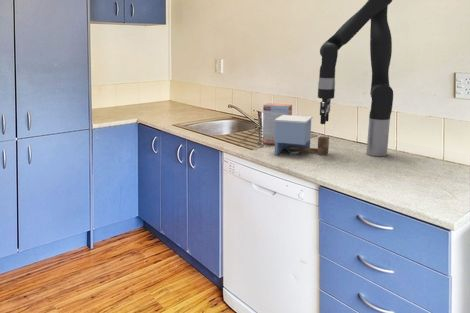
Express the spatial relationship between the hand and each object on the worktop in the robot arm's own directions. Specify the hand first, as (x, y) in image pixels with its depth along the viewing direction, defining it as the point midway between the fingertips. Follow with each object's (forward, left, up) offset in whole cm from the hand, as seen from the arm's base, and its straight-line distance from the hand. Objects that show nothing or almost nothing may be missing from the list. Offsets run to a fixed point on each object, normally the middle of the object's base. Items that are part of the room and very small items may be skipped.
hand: (324, 122), depth 202 cm
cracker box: (+26, -12, -15) cm, 32 cm away
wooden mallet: (+7, 0, -15) cm, 17 cm away
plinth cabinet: (+14, +3, -15) cm, 21 cm away
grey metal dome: (+13, +4, -15) cm, 20 cm away
